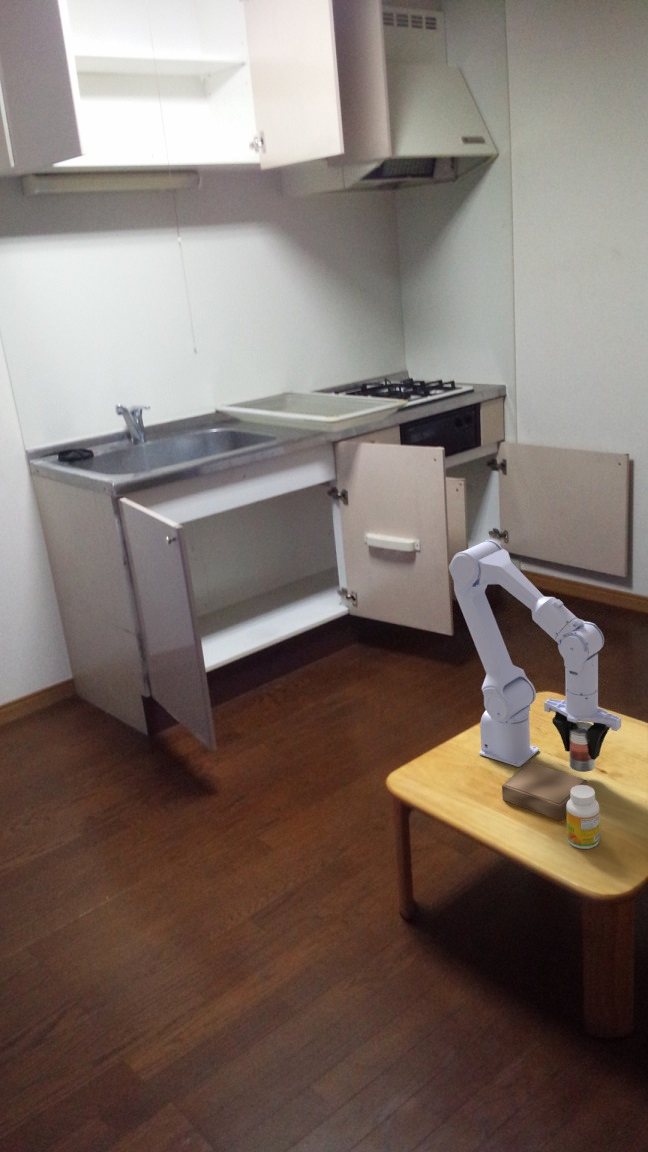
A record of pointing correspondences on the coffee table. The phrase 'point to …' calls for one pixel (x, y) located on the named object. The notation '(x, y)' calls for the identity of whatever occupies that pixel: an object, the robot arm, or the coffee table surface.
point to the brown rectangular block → (541, 789)
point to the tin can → (580, 747)
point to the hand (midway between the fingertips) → (582, 753)
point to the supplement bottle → (583, 818)
